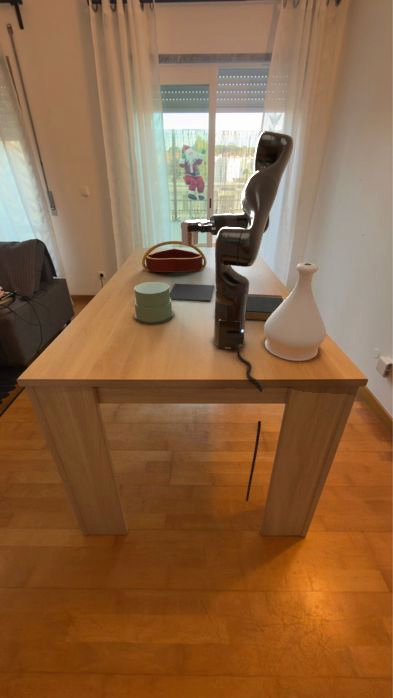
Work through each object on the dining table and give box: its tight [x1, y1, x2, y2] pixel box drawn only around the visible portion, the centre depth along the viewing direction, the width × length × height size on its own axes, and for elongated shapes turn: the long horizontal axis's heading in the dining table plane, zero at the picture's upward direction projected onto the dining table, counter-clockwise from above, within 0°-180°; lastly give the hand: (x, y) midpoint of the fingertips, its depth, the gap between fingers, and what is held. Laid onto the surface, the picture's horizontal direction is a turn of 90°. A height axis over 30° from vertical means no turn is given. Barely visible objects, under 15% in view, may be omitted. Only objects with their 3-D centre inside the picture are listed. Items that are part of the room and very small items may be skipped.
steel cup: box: [180, 219, 199, 246], centre depth 111 cm, size 7×7×8 cm
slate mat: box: [169, 283, 215, 303], centre depth 124 cm, size 18×18×1 cm
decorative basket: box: [141, 240, 207, 273], centre depth 149 cm, size 34×29×15 cm
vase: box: [263, 262, 327, 362], centre depth 80 cm, size 17×17×25 cm
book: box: [246, 293, 284, 322], centre depth 108 cm, size 17×4×25 cm
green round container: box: [133, 281, 174, 325], centre depth 101 cm, size 14×14×11 cm
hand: (184, 227), depth 109 cm, fingers closed on steel cup, 6 cm apart
